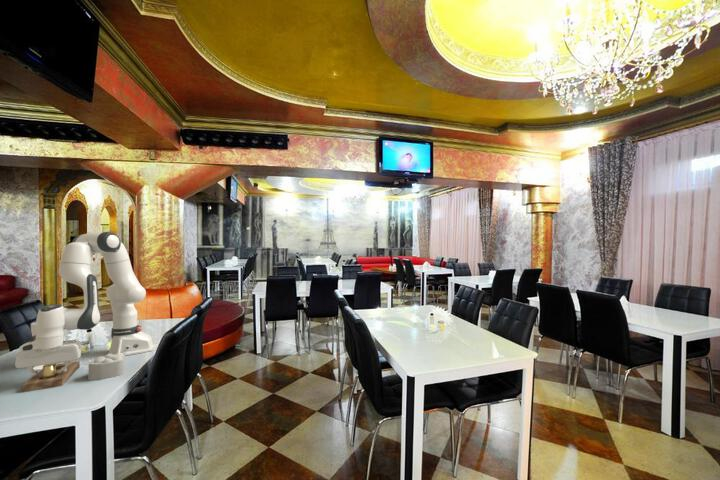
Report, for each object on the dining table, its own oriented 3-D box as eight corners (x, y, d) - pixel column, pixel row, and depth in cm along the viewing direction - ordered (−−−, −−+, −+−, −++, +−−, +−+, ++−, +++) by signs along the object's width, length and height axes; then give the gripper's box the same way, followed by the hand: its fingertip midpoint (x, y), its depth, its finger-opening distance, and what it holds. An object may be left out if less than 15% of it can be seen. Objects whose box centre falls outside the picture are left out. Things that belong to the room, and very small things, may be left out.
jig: (79, 367, 147) (79, 361, 147) (62, 385, 128) (62, 378, 128) (45, 372, 141) (46, 365, 141) (22, 392, 122) (22, 384, 122)
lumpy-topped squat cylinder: (124, 375, 139) (124, 356, 139) (86, 382, 131) (87, 363, 131) (124, 367, 147) (125, 350, 147) (89, 374, 139) (90, 356, 139)
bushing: (57, 380, 133) (57, 362, 133) (53, 384, 129) (53, 365, 129) (44, 382, 131) (45, 364, 131) (40, 386, 127) (41, 367, 128)
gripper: (83, 336, 138) (82, 366, 138) (21, 343, 128) (20, 375, 128) (79, 340, 133) (78, 371, 133) (13, 348, 123) (12, 381, 123)
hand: (49, 373), depth 130 cm, fingers open, 8 cm apart
